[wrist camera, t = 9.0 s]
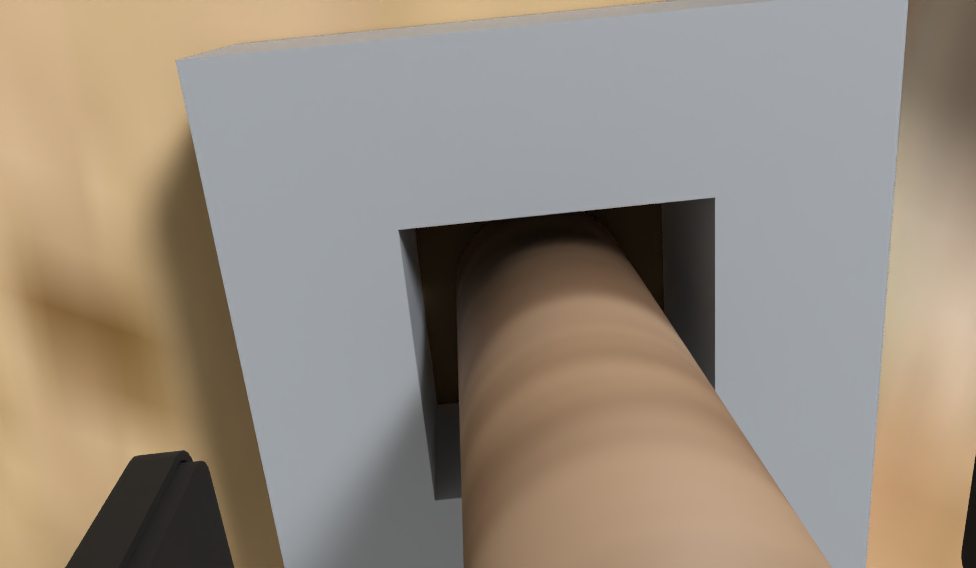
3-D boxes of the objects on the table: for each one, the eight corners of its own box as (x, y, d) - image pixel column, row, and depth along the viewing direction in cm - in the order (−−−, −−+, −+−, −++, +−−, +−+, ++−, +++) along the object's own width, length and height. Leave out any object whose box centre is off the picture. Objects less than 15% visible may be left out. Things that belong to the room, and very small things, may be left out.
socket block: (235, 43, 17) (175, 60, 13) (809, -14, 17) (909, -13, 14) (327, 528, 21) (301, 645, 18) (791, 479, 21) (864, 584, 18)
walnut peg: (446, 212, 19) (444, 558, 7) (624, 194, 19) (892, 512, 7) (464, 372, 20) (488, 873, 9) (629, 355, 20) (864, 831, 9)
